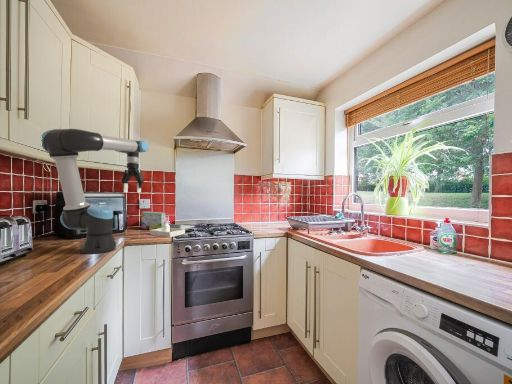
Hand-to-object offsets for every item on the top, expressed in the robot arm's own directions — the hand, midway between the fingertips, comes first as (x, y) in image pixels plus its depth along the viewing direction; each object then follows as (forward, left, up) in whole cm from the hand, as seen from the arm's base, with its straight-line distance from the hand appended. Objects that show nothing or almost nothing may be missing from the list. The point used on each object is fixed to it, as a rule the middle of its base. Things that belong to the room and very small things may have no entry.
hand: (132, 192), depth 161 cm
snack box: (+29, +10, -32) cm, 44 cm away
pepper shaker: (+16, -17, -31) cm, 39 cm away
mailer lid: (+30, -17, -28) cm, 44 cm away
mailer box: (+18, -17, -32) cm, 40 cm away
